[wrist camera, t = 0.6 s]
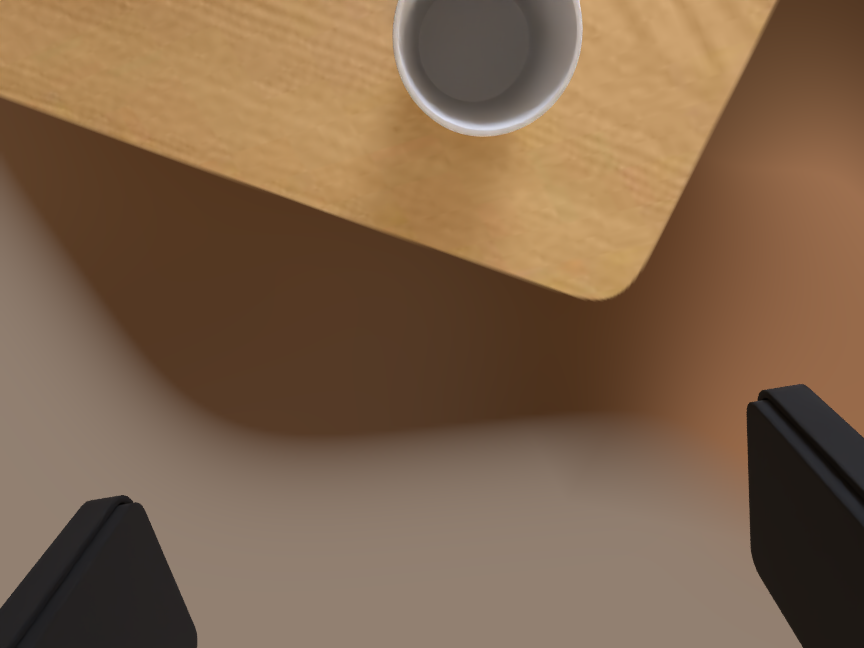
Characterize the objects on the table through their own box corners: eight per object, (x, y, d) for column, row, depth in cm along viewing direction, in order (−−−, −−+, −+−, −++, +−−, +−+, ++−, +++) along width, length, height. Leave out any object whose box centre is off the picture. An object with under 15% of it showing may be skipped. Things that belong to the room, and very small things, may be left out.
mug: (507, 131, 37) (536, 163, 26) (390, 85, 36) (367, 98, 25) (586, -68, 33) (659, -132, 22) (458, -123, 32) (467, -218, 21)
